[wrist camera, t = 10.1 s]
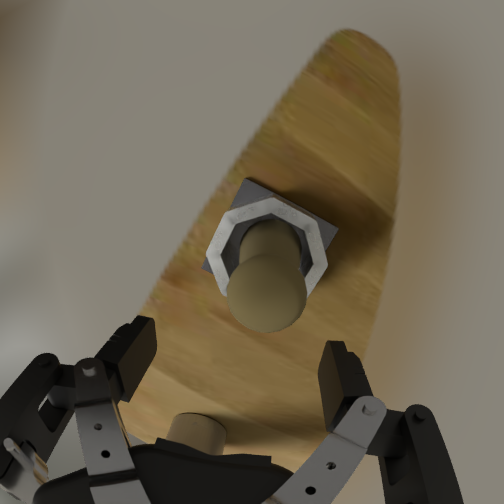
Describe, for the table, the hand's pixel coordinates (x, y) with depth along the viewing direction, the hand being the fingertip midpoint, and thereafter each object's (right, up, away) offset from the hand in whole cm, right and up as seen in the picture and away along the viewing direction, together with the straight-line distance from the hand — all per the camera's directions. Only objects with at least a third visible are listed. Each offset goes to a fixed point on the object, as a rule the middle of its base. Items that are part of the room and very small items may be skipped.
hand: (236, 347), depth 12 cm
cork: (+2, +5, +15) cm, 16 cm away
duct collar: (+2, +5, +15) cm, 16 cm away
